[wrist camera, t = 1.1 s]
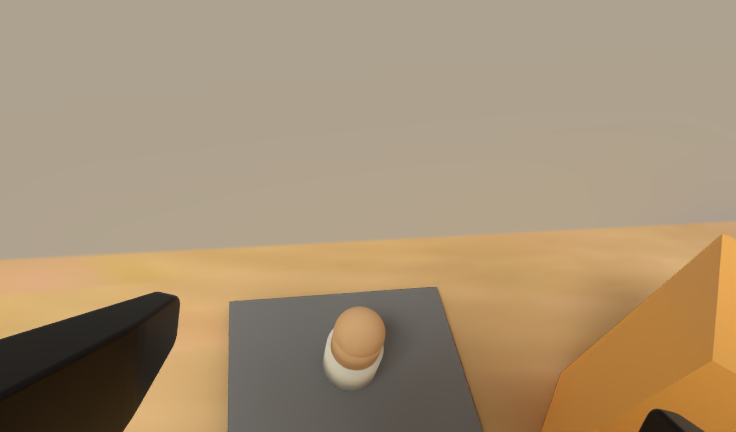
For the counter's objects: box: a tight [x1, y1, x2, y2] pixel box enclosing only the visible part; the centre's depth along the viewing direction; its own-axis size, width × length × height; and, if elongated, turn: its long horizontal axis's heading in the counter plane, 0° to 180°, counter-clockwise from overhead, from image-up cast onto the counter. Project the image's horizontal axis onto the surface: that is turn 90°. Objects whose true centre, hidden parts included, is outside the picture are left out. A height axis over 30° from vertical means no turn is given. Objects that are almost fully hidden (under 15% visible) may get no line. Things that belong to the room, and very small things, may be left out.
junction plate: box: [228, 287, 483, 432], centre depth 22 cm, size 12×8×5 cm
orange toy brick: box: [541, 234, 736, 432], centre depth 18 cm, size 6×6×14 cm
